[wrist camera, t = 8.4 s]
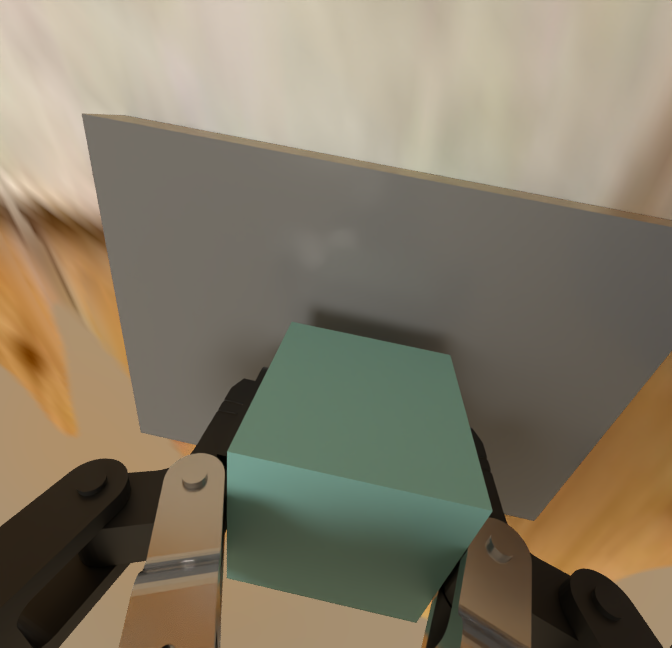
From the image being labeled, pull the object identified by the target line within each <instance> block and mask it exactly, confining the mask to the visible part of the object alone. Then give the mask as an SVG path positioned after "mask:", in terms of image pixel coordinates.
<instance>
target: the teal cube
mask: <svg viewBox="0 0 672 648" xmlns="http://www.w3.org/2000/svg"><path fill="white" fill-rule="evenodd" d="M492 511H493V510H492V507H491V503H490V499H489V496H488V492H487V488H486V485H485V481H484V477H483V473H482V470H481V466H480V462H479V459H478V455H477V451H476V448H475V444H474V440H473V437H472V433H471V429H470V426H469V422H468V418H467V415H466V411H465V407H464V404H463V400H462V396H461V392H460V389H459V385H458V381H457V378H456V374H455V370H454V367H453V363H452V359H451V356H450V355H448V354H443V353H438V352H433V351H429V350H424V349H419V348H414V347H410V346H405V345H400V344H395V343H391V342H386V341H381V340H376V339H372V338H367V337H362V336H357V335H353V334H348V333H343V332H338V331H334V330H329V329H324V328H319V327H315V326H310V325H305V324H300V323H296V322H291V324H290V326H289V328H288V330H287V332H286V334H285V336H284V338H283V340H282V342H281V344H280V346H279V348H278V350H277V352H276V354H275V356H274V358H273V360H272V362H271V364H270V366H269V368H268V370H267V372H266V374H265V376H264V378H263V380H262V382H261V384H260V386H259V388H258V390H257V392H256V394H255V397H254V399H253V401H252V403H251V405H250V407H249V409H248V411H247V413H246V415H245V417H244V419H243V421H242V423H241V425H240V427H239V429H238V431H237V433H236V435H235V437H234V439H233V441H232V443H231V445H230V447H229V449H228V451H227V578H229V579H233V580H237V581H242V582H246V583H250V584H254V585H258V586H263V587H267V588H271V589H275V590H280V591H284V592H288V593H292V594H297V595H301V596H305V597H309V598H314V599H318V600H322V601H326V602H330V603H335V604H339V605H343V606H348V607H352V608H356V609H360V610H365V611H368V612H373V613H378V614H381V615H385V616H390V617H394V618H399V619H403V620H407V621H411V622H415V623H416V622H417V621H418V619H419V618H420V616H421V615H422V613H423V612H424V611H425V609H426V608H427V606H428V605H429V603H430V602H431V600H432V599H433V597H434V596H435V595H436V593H437V592H438V590H439V589H440V587H441V586H442V584H443V583H444V581H445V580H446V578H447V577H448V576H449V574H450V573H451V571H452V570H453V568H454V567H455V565H456V564H457V562H458V561H459V559H460V558H461V557H462V555H463V554H464V552H465V551H466V549H467V548H468V546H469V545H470V543H471V542H472V540H473V539H474V538H475V536H476V535H477V533H478V532H479V530H480V529H481V527H482V526H483V524H484V523H485V522H486V520H487V519H488V517H489V516H490V514H491V513H492Z"/></svg>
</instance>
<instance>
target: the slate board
mask: <svg viewBox="0 0 672 648" xmlns="http://www.w3.org/2000/svg"><path fill="white" fill-rule="evenodd" d="M82 117H83V123H84V128H85V134H86V139H87V144H88V150H89V155H90V161H91V166H92V171H93V177H94V182H95V187H96V193H97V198H98V204H99V209H100V214H101V220H102V225H103V231H104V236H105V241H106V247H107V252H108V258H109V263H110V268H111V274H112V279H113V284H114V290H115V295H116V301H117V306H118V311H119V317H120V322H121V328H122V333H123V338H124V344H125V349H126V355H127V360H128V365H129V371H130V376H131V381H132V387H133V391H134V398H135V403H136V408H137V414H138V419H139V425H140V430H141V432H142V433H146V434H151V435H155V436H159V437H164V438H168V439H172V440H177V441H181V442H186V443H190V444H195V445H197V444H198V442H199V440H200V439H201V437H202V435H203V434H204V432H205V430H206V429H207V427H208V425H209V424H210V422H211V420H212V419H213V417H214V415H215V414H216V412H218V409H219V407H220V406H221V404H222V402H224V399H225V397H226V396H227V394H228V392H229V391H230V389H231V387H233V386H234V385H235V384H237V383H238V382H240V381H241V380H242V379H244V378H245V379H249V380H254V381H255V380H256V379H257V377H258V375H259V373H260V371H261V369H262V368H263V367H268V368H269V366H270V364H271V362H272V360H273V358H274V356H275V354H276V352H277V350H278V348H279V346H280V344H281V342H282V340H283V338H284V336H285V334H286V332H287V330H288V328H289V326H290V324H291V322H296V323H300V324H305V325H310V326H315V327H319V328H324V329H329V330H334V331H338V332H343V333H348V334H353V335H357V336H362V337H367V338H372V339H376V340H381V341H386V342H391V343H395V344H400V345H405V346H410V347H414V348H419V349H424V350H429V351H433V352H438V353H443V354H448V355H450V356H451V359H452V363H453V367H454V370H455V374H456V378H457V381H458V385H459V389H460V392H461V396H462V400H463V404H464V407H465V411H466V415H467V418H468V422H469V426H470V428H473V430H474V431H475V433H476V434H477V435H478V437H479V438H480V439H481V441H482V442H483V445H484V448H485V452H486V455H487V460H488V462H489V465H490V468H491V473H492V475H493V478H494V482H495V485H496V488H497V492H498V495H499V498H500V502H501V505H502V509H503V512H504V514H506V515H510V516H515V517H519V518H524V519H528V520H533V521H535V519H536V518H537V517H538V516H539V514H540V513H541V512H542V511H543V509H544V508H545V507H546V506H547V504H548V503H549V502H550V501H551V500H552V498H553V497H554V496H555V495H556V493H557V492H558V491H559V490H560V488H561V487H562V486H563V485H564V483H565V482H566V481H567V480H568V478H569V477H570V476H571V475H572V474H573V472H574V471H575V470H576V469H577V467H578V466H579V465H580V464H581V462H582V461H583V460H584V459H585V457H586V456H587V455H588V454H589V452H590V451H591V450H592V449H593V448H594V446H595V445H596V444H597V443H598V441H599V440H600V439H601V438H602V436H603V435H604V434H605V433H606V431H607V430H608V429H609V428H610V426H611V425H612V424H613V423H614V422H615V420H616V419H617V418H618V417H619V415H620V414H621V413H622V412H623V410H624V409H625V408H626V407H627V405H628V404H629V403H630V402H631V400H632V399H633V398H634V397H635V396H636V394H637V393H638V392H639V391H640V389H641V388H642V387H643V386H644V384H645V383H646V382H647V381H648V379H649V378H650V377H651V376H652V374H653V373H654V372H655V371H656V370H657V368H658V367H659V366H660V365H661V363H662V362H663V361H664V360H665V358H666V357H667V356H668V355H669V353H670V352H671V351H672V220H668V219H663V218H657V217H652V216H647V215H642V214H637V213H631V212H626V211H621V210H616V209H610V208H605V207H600V206H595V205H590V204H584V203H579V202H574V201H569V200H564V199H558V198H553V197H548V196H543V195H537V194H532V193H527V192H522V191H517V190H511V189H506V188H501V187H496V186H491V185H485V184H480V183H475V182H470V181H464V180H459V179H454V178H449V177H444V176H438V175H433V174H428V173H423V172H418V171H412V170H407V169H402V168H397V167H392V166H386V165H381V164H376V163H371V162H365V161H360V160H355V159H350V158H345V157H339V156H334V155H329V154H324V153H319V152H313V151H308V150H303V149H298V148H292V147H287V146H282V145H277V144H272V143H266V142H261V141H256V140H251V139H246V138H240V137H235V136H230V135H225V134H219V133H214V132H209V131H204V130H199V129H193V128H188V127H183V126H178V125H173V124H167V123H162V122H157V121H152V120H147V119H141V118H136V117H131V116H126V115H104V114H82Z"/></svg>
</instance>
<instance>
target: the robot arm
mask: <svg viewBox="0 0 672 648" xmlns="http://www.w3.org/2000/svg"><path fill="white" fill-rule="evenodd" d="M267 370H268V367H263V368H262V369H261V371H260V373H259V375H258V377H257V379H256V380H255V381H254V380H249V379H245V378H244V379H242V380H241V381H240V382H238V383H237V384H235V385H234V386H233V387H231V389H230V391H229V392H228V394H227V396H226V397H225V399H224V402H222V404H221V406H220V407H219V409H218V412H216V414H215V415H214V417H213V419H212V420H211V422H210V424H209V425H208V427H207V429H206V430H205V432H204V434H203V435H202V437H201V439H200V440H199V442H198V444H197V445H196V447H195V449H194V450H193V451H192V453H191V454H190V455H188V456H185V457H183V458H181V459H179V460H178V461H176V462H175V463H174V464H173V465H172V466H171V467H170V468H167V469H163V470H158V471H147V472H134V473H128V472H127V469H126V467H125V466H124V465H123V464H122V463H121V462H119V461H117V460H114V459H98V460H93V461H90V462H87V463H85V464H82V465H80V466H78V467H77V468H75V469H73V470H72V471H71V472H69V473H68V474H67V475H66V476H64V477H63V478H62V479H61V480H59V481H58V482H57V483H55V484H54V485H53V486H51V487H50V488H49V489H48V490H46V491H45V492H44V493H43V494H41V495H40V496H39V497H37V498H36V499H35V500H34V501H32V502H31V503H30V504H29V505H27V506H26V507H25V508H24V509H22V510H21V511H20V512H19V513H17V514H16V515H15V516H13V517H12V518H11V519H9V520H8V521H7V522H6V523H4V524H3V525H2V526H1V527H0V648H59V647H60V646H61V644H62V643H63V642H64V641H65V640H66V638H67V637H68V636H69V635H70V634H71V633H72V631H73V630H74V629H75V628H76V627H77V626H78V624H79V623H80V622H81V621H82V620H83V618H84V617H85V616H86V615H87V614H88V612H89V611H90V610H91V609H92V607H94V605H95V604H96V603H97V602H98V601H99V600H100V598H101V597H102V596H103V595H104V594H105V592H106V591H107V590H108V589H109V588H110V587H111V585H112V584H113V583H114V582H115V581H116V580H117V578H118V577H119V576H120V575H121V574H122V572H123V571H124V570H125V569H126V568H127V567H128V565H129V564H130V563H133V562H141V561H146V563H145V566H144V569H143V571H141V572H140V573H139V574H138V576H137V578H136V580H135V583H134V586H133V589H132V593H131V597H130V602H129V606H128V610H127V615H126V619H125V623H124V627H123V632H122V636H121V640H120V645H119V648H220V640H221V608H222V587H223V566H224V546H225V532H226V530H227V451H228V449H229V447H230V445H231V443H232V441H233V439H234V437H235V435H236V433H237V431H238V429H239V427H240V425H241V423H242V421H243V419H244V417H245V415H246V413H247V411H248V409H249V407H250V405H251V403H252V401H253V399H254V397H255V394H256V392H257V390H258V388H259V386H260V384H261V382H262V380H263V378H264V376H265V374H266V372H267ZM470 429H471V433H472V437H473V440H474V444H475V448H476V451H477V455H478V459H479V462H480V466H481V470H482V473H483V477H484V481H485V485H486V488H487V492H488V496H489V499H490V503H491V507H492V510H493V511H492V513H491V514H490V516H489V517H488V519H487V520H486V522H485V523H484V524H483V526H482V527H481V529H480V530H479V532H478V533H477V535H476V536H475V538H474V539H473V540H472V542H471V543H470V545H469V546H468V548H467V549H466V551H465V552H464V554H463V555H462V557H461V558H460V559H459V561H458V562H457V564H456V565H455V567H454V568H453V570H452V571H451V573H450V574H449V576H448V577H447V578H446V580H445V581H444V583H443V584H442V586H441V587H440V589H439V590H438V592H437V593H436V595H435V596H434V597H433V600H432V604H431V608H430V613H429V617H428V621H427V626H426V630H425V635H424V639H423V643H422V648H663V647H662V645H661V644H660V642H659V641H658V639H657V638H656V636H655V635H654V634H653V632H652V631H651V629H650V628H649V626H648V625H647V623H646V622H645V620H644V619H643V617H642V616H641V615H640V613H639V612H638V610H637V609H636V607H635V606H634V604H633V603H632V602H631V600H630V599H629V598H628V596H627V595H626V594H625V593H624V592H623V591H622V590H621V589H620V588H619V587H618V586H617V585H616V584H615V583H614V582H612V581H611V580H610V579H608V578H607V577H606V576H604V575H602V574H600V573H598V572H596V571H594V570H590V569H579V570H577V571H575V572H574V573H573V574H572V575H571V576H570V575H568V574H566V573H564V572H562V571H561V570H559V569H557V568H555V567H553V566H551V565H550V564H548V563H546V562H544V561H542V560H540V559H539V558H537V557H535V556H534V555H533V554H531V553H530V552H529V550H528V547H527V546H526V544H525V542H524V541H523V539H522V538H521V537H520V535H519V534H518V533H517V532H516V531H515V530H514V529H513V528H511V527H510V526H509V525H508V524H507V522H506V519H505V515H504V512H503V509H502V505H501V502H500V498H499V495H498V492H497V488H496V485H495V482H494V478H493V475H492V473H491V468H490V465H489V462H488V460H487V455H486V452H485V448H484V445H483V442H482V441H481V439H480V438H479V437H478V435H477V434H476V433H475V431H474V430H473V428H470Z"/></svg>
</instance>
